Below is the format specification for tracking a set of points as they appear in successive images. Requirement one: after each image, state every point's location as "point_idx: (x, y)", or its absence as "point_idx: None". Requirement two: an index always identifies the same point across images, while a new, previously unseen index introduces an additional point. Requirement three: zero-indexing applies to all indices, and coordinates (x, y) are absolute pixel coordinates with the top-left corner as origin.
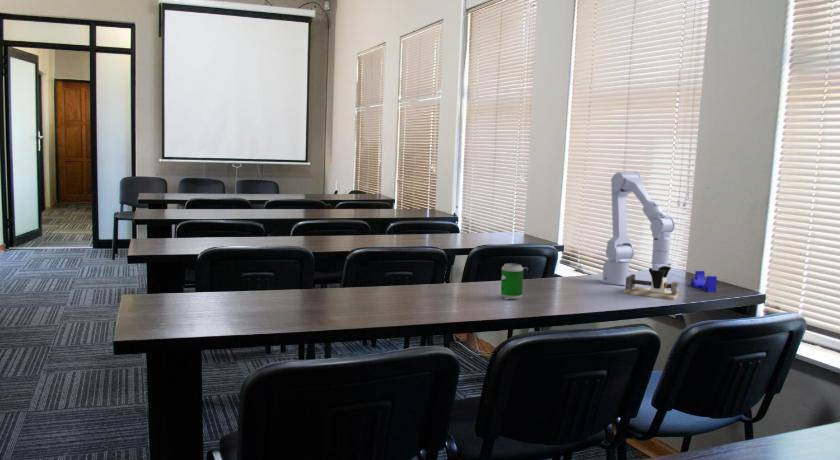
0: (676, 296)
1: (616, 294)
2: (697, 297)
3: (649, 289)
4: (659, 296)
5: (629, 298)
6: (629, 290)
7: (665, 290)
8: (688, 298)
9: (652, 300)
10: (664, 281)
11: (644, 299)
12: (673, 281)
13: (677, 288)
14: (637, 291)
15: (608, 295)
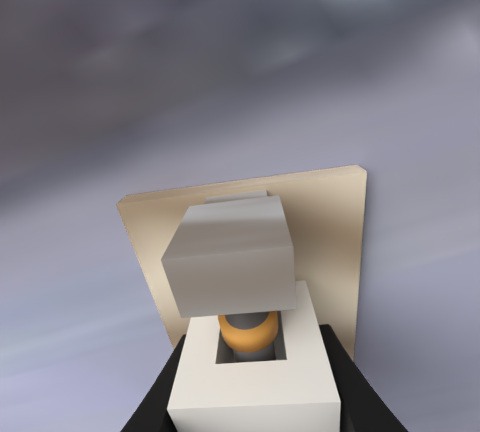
0: (272, 180)
1: None
2: (88, 30)
3: None
4: (355, 270)
5: (465, 364)
6: None
7: None
8: (205, 87)
9: (463, 269)
10: (266, 370)
11: (454, 309)
12: (200, 313)
13: (250, 212)
14: None
15: (436, 429)
